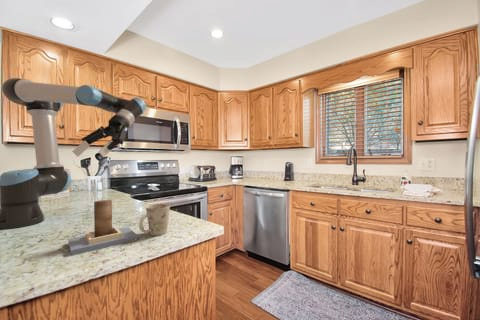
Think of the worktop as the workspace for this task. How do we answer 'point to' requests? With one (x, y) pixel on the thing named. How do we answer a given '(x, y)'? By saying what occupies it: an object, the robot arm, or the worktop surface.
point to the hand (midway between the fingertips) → (87, 154)
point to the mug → (156, 219)
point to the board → (100, 240)
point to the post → (102, 218)
